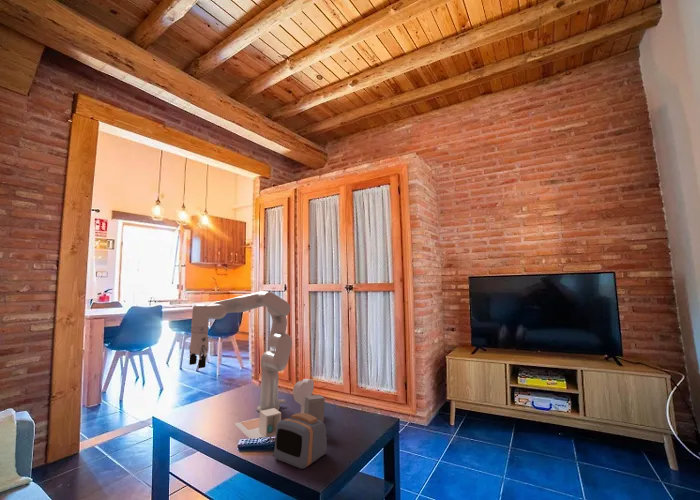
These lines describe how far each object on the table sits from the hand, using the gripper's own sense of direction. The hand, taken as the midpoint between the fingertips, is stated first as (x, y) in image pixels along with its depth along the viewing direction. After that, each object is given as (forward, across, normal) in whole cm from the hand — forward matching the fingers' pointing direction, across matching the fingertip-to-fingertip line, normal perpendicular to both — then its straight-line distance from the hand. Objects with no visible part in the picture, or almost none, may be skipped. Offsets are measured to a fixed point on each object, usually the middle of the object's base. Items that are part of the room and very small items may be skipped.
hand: (197, 366), depth 158 cm
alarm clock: (+30, -56, -19) cm, 66 cm away
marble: (+27, -29, -23) cm, 46 cm away
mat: (+29, -23, -22) cm, 43 cm away
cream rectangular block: (+29, -29, -23) cm, 47 cm away
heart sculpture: (+30, -24, -48) cm, 61 cm away
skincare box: (+30, -42, -39) cm, 65 cm away
